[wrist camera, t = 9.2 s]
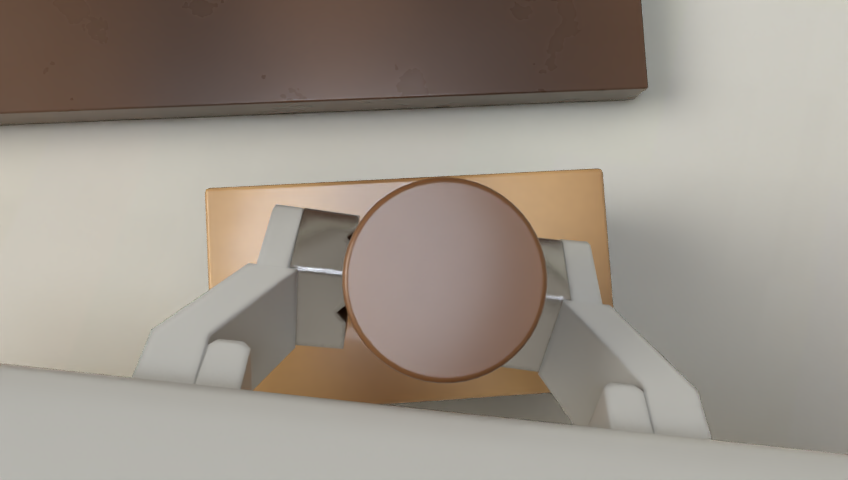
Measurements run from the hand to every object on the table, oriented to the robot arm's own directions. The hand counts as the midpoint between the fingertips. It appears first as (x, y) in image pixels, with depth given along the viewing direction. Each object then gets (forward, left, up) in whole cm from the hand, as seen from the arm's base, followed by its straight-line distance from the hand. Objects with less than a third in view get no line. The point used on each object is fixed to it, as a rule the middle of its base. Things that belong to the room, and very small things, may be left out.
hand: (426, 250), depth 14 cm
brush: (0, +1, -6) cm, 6 cm away
